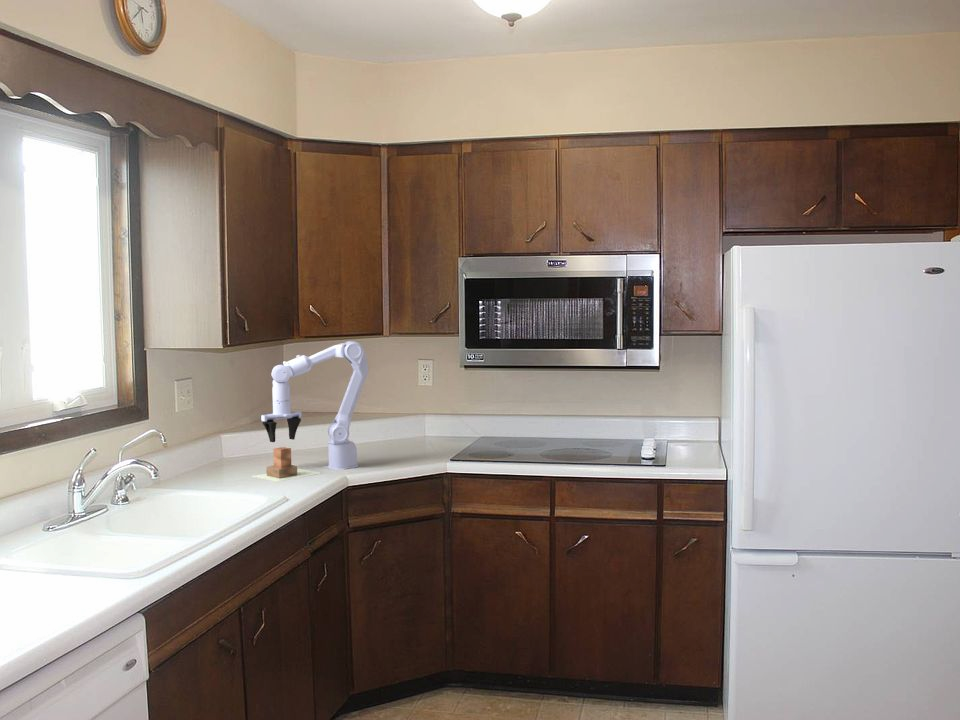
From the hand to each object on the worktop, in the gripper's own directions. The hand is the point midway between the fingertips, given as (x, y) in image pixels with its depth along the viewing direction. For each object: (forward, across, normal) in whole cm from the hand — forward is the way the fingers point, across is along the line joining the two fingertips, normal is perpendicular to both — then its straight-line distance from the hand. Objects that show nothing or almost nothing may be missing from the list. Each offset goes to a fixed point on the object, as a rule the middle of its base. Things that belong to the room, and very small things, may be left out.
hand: (282, 440), depth 279 cm
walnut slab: (+10, -6, -8) cm, 14 cm away
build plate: (+10, -4, -8) cm, 14 cm away
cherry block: (+7, -6, -9) cm, 13 cm away
